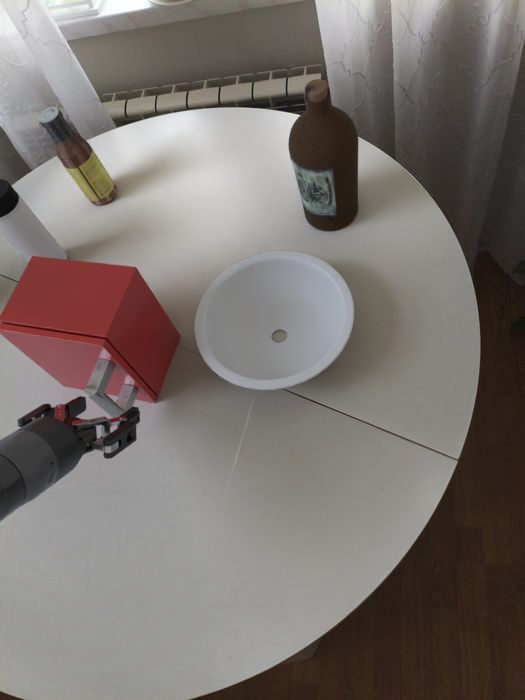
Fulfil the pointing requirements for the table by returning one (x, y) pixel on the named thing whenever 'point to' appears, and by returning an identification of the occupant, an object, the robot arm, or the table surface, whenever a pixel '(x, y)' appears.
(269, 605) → the table surface
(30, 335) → the red cabinet door
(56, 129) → the sauce bottle
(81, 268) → the cabinet
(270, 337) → the white sink basin
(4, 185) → the travel mug
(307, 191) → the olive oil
